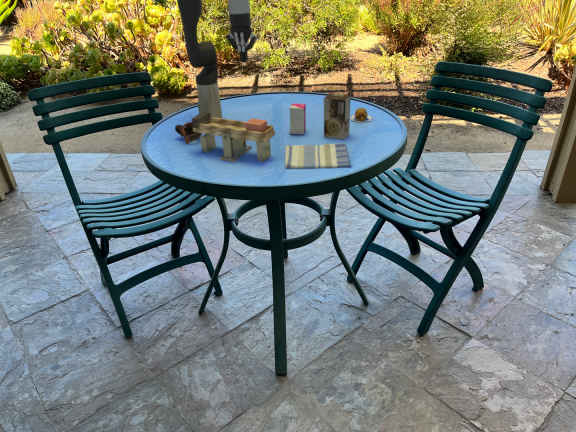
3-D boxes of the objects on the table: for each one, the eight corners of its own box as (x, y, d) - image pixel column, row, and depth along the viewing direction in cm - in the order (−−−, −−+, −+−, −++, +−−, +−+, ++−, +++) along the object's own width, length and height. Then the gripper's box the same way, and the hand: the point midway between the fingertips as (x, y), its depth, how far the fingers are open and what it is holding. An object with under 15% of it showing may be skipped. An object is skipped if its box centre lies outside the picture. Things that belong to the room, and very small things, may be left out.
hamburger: (380, 121, 182) (381, 109, 179) (358, 127, 177) (358, 115, 174) (363, 114, 191) (364, 102, 188) (341, 119, 186) (342, 107, 183)
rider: (246, 133, 149) (245, 123, 146) (252, 128, 152) (252, 118, 150) (261, 136, 146) (260, 125, 144) (267, 131, 150) (267, 120, 148)
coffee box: (349, 134, 170) (351, 94, 161) (344, 140, 165) (346, 99, 156) (328, 131, 173) (329, 92, 165) (323, 137, 168) (323, 97, 160)
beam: (193, 131, 156) (191, 118, 153) (205, 124, 162) (203, 111, 159) (265, 143, 145) (264, 128, 142) (275, 134, 151) (274, 120, 148)
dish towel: (285, 149, 161) (285, 143, 159) (347, 148, 159) (347, 141, 158) (283, 170, 146) (283, 163, 145) (351, 169, 145) (351, 162, 143)
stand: (197, 155, 158) (192, 130, 153) (215, 142, 168) (212, 118, 162) (259, 166, 148) (256, 140, 143) (274, 151, 158) (273, 126, 153)
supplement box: (304, 135, 171) (303, 108, 164) (289, 135, 172) (288, 107, 165) (306, 130, 175) (305, 103, 169) (292, 129, 176) (291, 103, 170)
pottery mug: (206, 135, 176) (205, 122, 169) (199, 152, 172) (197, 140, 164) (179, 127, 176) (177, 114, 169) (171, 145, 172) (168, 132, 164)
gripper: (217, 12, 148) (223, 63, 158) (250, 13, 143) (254, 65, 153) (228, 9, 154) (234, 58, 163) (260, 10, 149) (264, 60, 159)
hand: (244, 61), depth 158 cm, fingers closed
